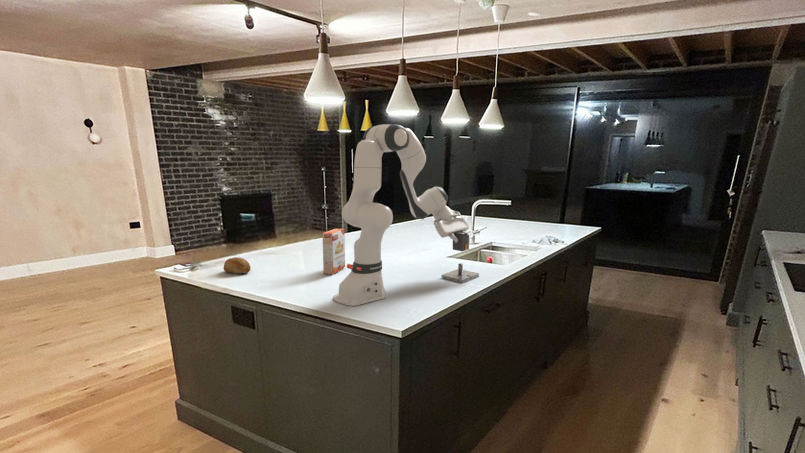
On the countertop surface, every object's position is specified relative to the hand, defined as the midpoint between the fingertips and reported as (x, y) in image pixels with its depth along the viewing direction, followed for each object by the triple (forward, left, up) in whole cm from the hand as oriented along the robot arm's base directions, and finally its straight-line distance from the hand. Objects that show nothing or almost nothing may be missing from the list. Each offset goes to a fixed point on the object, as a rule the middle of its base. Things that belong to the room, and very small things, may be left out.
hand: (462, 240), depth 186 cm
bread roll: (-68, +89, -18) cm, 114 cm away
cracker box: (-33, +55, -18) cm, 66 cm away
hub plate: (0, +1, -18) cm, 18 cm away
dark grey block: (0, +1, -4) cm, 4 cm away
